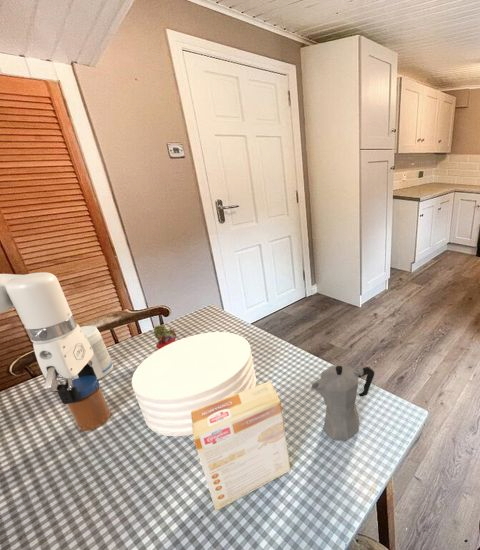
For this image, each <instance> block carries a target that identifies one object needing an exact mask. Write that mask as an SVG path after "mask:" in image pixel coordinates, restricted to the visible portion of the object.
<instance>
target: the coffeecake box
mask: <svg viewBox="0 0 480 550" xmlns="http://www.w3.org/2000/svg"><path fill="white" fill-rule="evenodd" d="M191 419H192V430H193V434H192V437H193V442H194V445H195V448H196V452H197V454H198V458H199V462H200V465H201V467H202V471H203V474H204V477H205V481H206V484H207V487H208V491H209V494H210V497H211V500H212V501H211V502H212V504H213V506H214V509H215V511H216V512H217V511H219V510H221V509H224V508H225V507H227V506H229V505H231V504H232V503H234V502H237V501H238V500H240V499H241V498H244V497H245V496H247V495H248V494H251V493H253V492H254V491H256V490H258V489H259V488H262V487H263V486H265V485H267V484H269V483H270V482H273V481H274V480H276V479H278V478H279V477H281V476H283V475H285V474H287V473H288V472H290V471H291V462H290V455H289V449H288V442H287V437H286V430H285V424H284V416H283V410H282V403H281V400H280V398H279V395H278V393H277V392H276V390H275V387H274V384H273V383H272V380H268V381H266V382H264V383H263V382H262V383H261V384H258V385H256V386H255V387H253V388H250V389H248V390H245V391H242V392H240V393H237V394H235V395H232V396H229V397H227V398H224V399H222V400H219V401H217V402H214V403H211V404H209V405H206V406H204V407H201V408H198V409H196V410H193V411H191Z"/></svg>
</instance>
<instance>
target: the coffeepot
mask: <svg viewBox="0 0 480 550" xmlns="http://www.w3.org/2000/svg"><path fill="white" fill-rule="evenodd" d="M364 376H366V377H365V382H364V384H363V390H362V391H361V392H360V393H358V386H359V378H362V377H364ZM374 377H375V371H374V369H372V368H371V367H369V366H365V367H363V368H362V367H358V368H355V369H354V368H353V367H351V366H350V365H349V364H345V365H342V364H341V365H339V364H337V365H331V366H330V367H329V368H327V369H325V370H324V371H322V372H321V374H320V378H318V379H317V380H316V381H314V382H313V383H312V384H311V390H314V391H316V392H317V393H318V394H319V395H320V396H321V397H322V399H323V401H324V405H325V406H326V409H325V416H324V425H323V432H324V434H326V436H327V437H328V438H329V439H331V440H332V441H336V442H337V441H338V442H341V441H342V442H343V441H349V440H351V438H353V437H354V436H355V435H356V434H357V433H358V432H359V431H360V417H359V413H358V409H357V405H356V400H357V399H356V398H357V393H358V396H359V397H360V398H361V397H365V396H367V395H368V393H369V391H370V388H371V385H372V382H373V380H374Z"/></svg>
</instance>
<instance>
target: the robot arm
mask: <svg viewBox="0 0 480 550" xmlns="http://www.w3.org/2000/svg"><path fill="white" fill-rule="evenodd" d="M13 308H14V309H15V311H16V314H17V315H18V317H19V319H20V321H21V323H22V325H23V327H24V329H25V331H26V334H27V335H28V338H29V339H30V342H32V347H33V351H34V355H35V358H36V360H37V364H38V367H39V369H40V371H41V373H42V375H43V376H44V378H45V382H44V386H43V388H44V391H48V392H51V393H54V394H55V393H57V394H58V397H59V399H60V400H61V402H62V404H63V405H67V404H70V403H75V402H79V401H80V400H81V398H80V395H79V393H78V391H77V389H76V387H73V385H72V380H73V378H74V377H75V376H76V375H77V374H78V377H83V376H89V375H91V376H95V377H96V374H95V372H94V370H93V367H92V361H91V360H90V359H91V358H92V356H93V350H92V348H91V345H90V343H89V341H88V339H87V338H86V336H85V334H84V332H83V331H82V329H81V328H80V327H81V326H80V325H79V324H78V323H77V322H76V319H75V318H74V315H73V313H72V310H71V308H70V306H69V303H68V300H67V298H66V296H65V293H64V291H63V289H62V287H61V284H60V282H59V280H58V277H57V276H56V275H55V274H53V273H51V272H46V271H45V272H44V271H40V272H31V273H26V274H14V273H0V315H1V314H3V313H5V312H7V311H9V310H11V309H13ZM96 378H97V377H96ZM61 381H65V384H66V385H65V384H62V383H61Z"/></svg>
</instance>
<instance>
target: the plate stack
mask: <svg viewBox="0 0 480 550" xmlns="http://www.w3.org/2000/svg"><path fill="white" fill-rule="evenodd" d="M255 386H257V377H256V372H255V367H254V361H253V355H252V348H251V345H250V342H249V341H248V340H247V339H246V338H245V337H243V336H242V335H240V334H237V333H233V332H227V331H213V332H212V331H211V332H203V333H199V334H194V335H189V336H186V337H184V338H179V340H178V339H177V340H175V342H173V343H171V344H168V345H166V346H164V347H162V348H161V349H157V350H156V351H154V352H153V353H151V354H150V355H149V356H147V357H146V358H145V359H144V360H143V361H142V362H140V364H139V365H138V366H137V368H136V369H135V370H134V372H133V374H132V377H131V387H132V390H133V392H134V395H135V397H136V401H137V403H138V406H139V408H140V411H141V414H142V417H143V419H144V422H145V424H146V426H147V427H148V429H150V431H152V432H154V433H155V434H158V435H161V436H166V437H186V436H191V435H192V436H193V430H192V419H191V411H193V410H196V409H198V408H201V407H204V406H206V405H209V404H211V403H214V402H217V401H219V400H222V399H224V398H227V397H229V396H232V395H235V394H237V393H240V392H242V391H245V390H248V389H250V388H253V387H255Z"/></svg>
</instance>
